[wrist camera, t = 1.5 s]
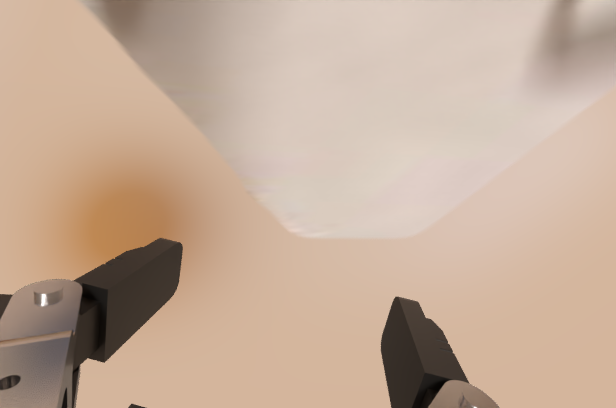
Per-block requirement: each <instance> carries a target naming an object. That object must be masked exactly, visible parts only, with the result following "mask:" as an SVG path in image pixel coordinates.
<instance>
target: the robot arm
mask: <svg viewBox="0 0 616 408" xmlns="http://www.w3.org/2000/svg"><path fill="white" fill-rule="evenodd" d="M182 250H183V247H182V244H181V243H180V242H175V241H171V240H167V239H163V238H159V239H157V240H155V241H154V242H152V243H150V244H149V245H147V246H145V247H140V248H137V249H133V250H130V251H126V252H124V253H123V254H121V255H119V256H117V257H116V258H115V259H112V260H110V261H108V262H107V263H106V264H103V265H101V266H99V267H97V268H95V269H94V270H92V271H90V272H88V273H86V274H85V275H83V276H81V277H79V278H77V279H76V280H74V281H71V280H66V279H52V280H45V281H40V282H36V283H32V284H30V285H27V286H25V287H23V288H21V289H19V290H18V291H16V293H14V294H13V295H5V294H0V408H75V407H76V400H77V392H78V385H79V378H80V364H81V363H83V362H84V361H85V360H86V359H87V358H89V359H93V360H97V361H100V362H105V361H107V359H109V358H110V357H111V356H112V355H113V354H114V353H115V352H116V351H117V350H118V349H119V348H120V347H121V346H122V345H123V344H124V343H125V342H126V341H127V340H128V339H129V338H130V337H131V336H132V335H133V334H134V333H135V332H136V331H137V330H138V329H140V327H142V326H143V325H144V324H145V323H146V322H147V321H148V320H149V319H150V318H151V317H152V316H153V315H154V314H155V313H156V312H157V311H158V310H159V309H160V308H161V307H162V306H163V305H164V304H165V303H166V302H167V301H168V300H169V299H170V298H171V297H172V296H173V295H174V293H175V291H176V289H177V286H178V283H179V276H180V267H181V259H182ZM381 353H382V359H383V364H384V370H385V375H386V381H387V386H388V391H389V396H390V402H391V407H392V408H499V406H498V405H497V404H496V403H495V402H494V401H493V400H492V399H491V398H490V397H489V396H488V395H487V394H485V393H484V392H483V391H481V390H480V389H478V388H477V387H475V386H473V385H471V384H469V382H468V380H467V378H466V376H465V374H464V372H463V370H462V368H461V366H460V364H459V362H458V361H457V358H456V357H455V355H454V354H453V351H452V349H451V347H450V345H449V344H448V341H447V339H446V337H445V335H444V333H443V331H442V330H441V329H440V328H439V327H438V326H437V325H436V324H435V323H434V322H433V321H432V320H431V319H428V318H425V315H424V313H423V311H422V309H421V307H420V305H419V303H418V302H417V301H413V300H409V299H405V298H401V297H395V299H394V301H393V303H392V306H391V309H390V312H389V315H388V319H387V322H386V325H385V328H384V331H383V335H382V340H381ZM129 408H145V407H141V406H138V405H134V404H131V405H130V406H129Z"/></svg>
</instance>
